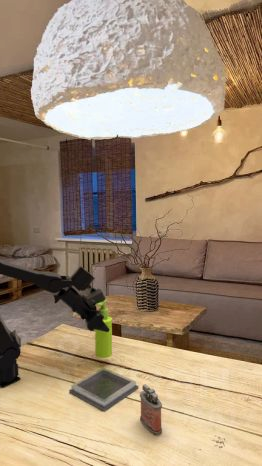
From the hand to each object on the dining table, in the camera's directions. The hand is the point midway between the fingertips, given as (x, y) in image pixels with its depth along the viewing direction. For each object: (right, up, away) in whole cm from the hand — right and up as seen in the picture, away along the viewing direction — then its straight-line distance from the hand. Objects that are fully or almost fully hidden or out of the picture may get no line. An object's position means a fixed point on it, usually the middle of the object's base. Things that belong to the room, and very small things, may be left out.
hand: (106, 327), depth 122 cm
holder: (0, -15, -16) cm, 22 cm away
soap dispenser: (-1, -10, 0) cm, 10 cm away
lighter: (+14, -17, -32) cm, 39 cm away
